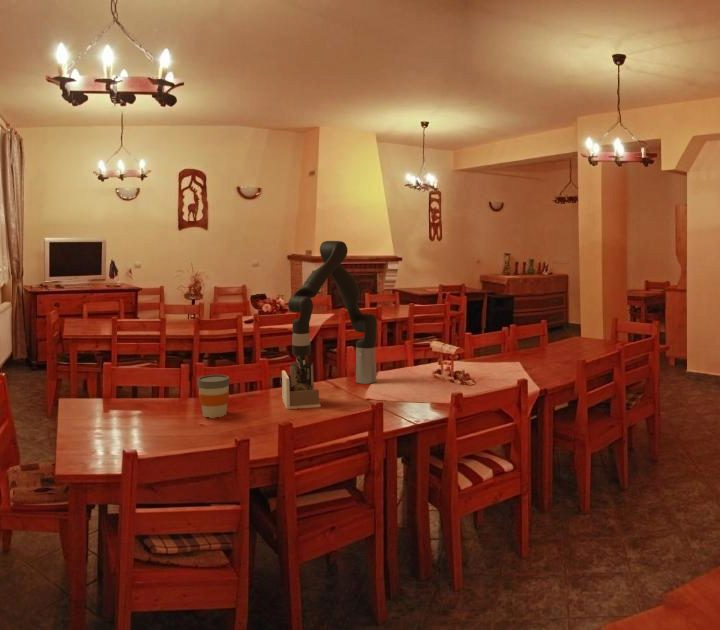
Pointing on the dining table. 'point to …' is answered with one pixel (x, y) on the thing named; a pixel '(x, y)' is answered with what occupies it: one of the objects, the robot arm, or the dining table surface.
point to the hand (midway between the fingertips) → (301, 381)
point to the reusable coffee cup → (213, 395)
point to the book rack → (298, 396)
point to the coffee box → (296, 378)
